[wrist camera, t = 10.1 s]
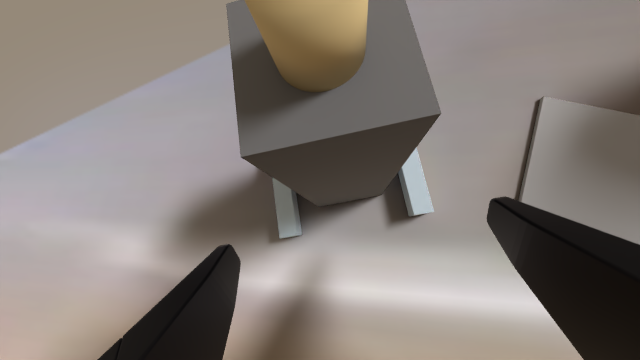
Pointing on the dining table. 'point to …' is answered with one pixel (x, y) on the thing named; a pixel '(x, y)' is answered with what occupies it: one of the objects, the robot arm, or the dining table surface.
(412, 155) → the blue bay
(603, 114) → the grey pad
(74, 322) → the dining table surface
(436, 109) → the plug block
